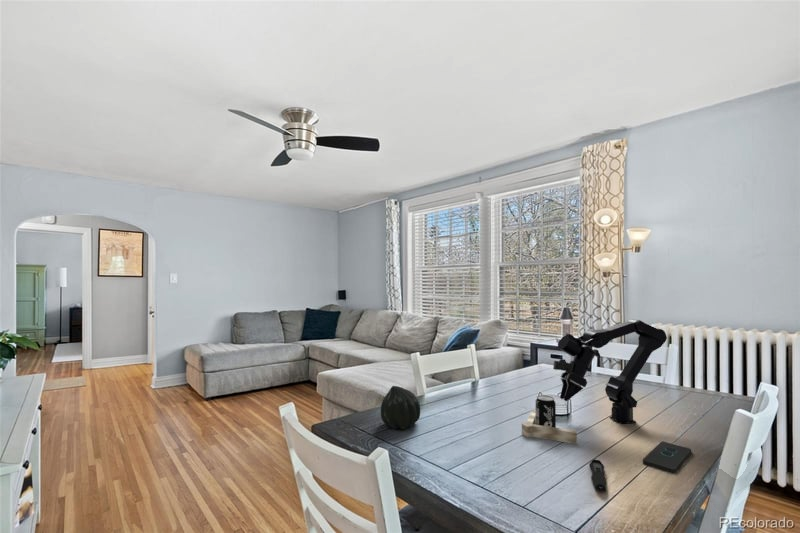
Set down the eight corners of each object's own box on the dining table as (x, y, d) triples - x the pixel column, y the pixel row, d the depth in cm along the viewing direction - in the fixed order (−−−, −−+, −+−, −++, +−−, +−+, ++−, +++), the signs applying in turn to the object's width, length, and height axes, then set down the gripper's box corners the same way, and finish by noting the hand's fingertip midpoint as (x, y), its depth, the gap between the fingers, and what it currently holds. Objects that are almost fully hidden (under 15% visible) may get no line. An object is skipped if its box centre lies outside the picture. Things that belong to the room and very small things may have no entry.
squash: (434, 411, 142) (413, 376, 149) (407, 424, 131) (385, 385, 138) (413, 430, 149) (393, 395, 156) (385, 443, 138) (365, 405, 145)
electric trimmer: (591, 494, 98) (591, 481, 98) (589, 466, 113) (589, 455, 113) (608, 498, 97) (608, 485, 97) (603, 469, 111) (603, 458, 111)
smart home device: (692, 448, 122) (675, 469, 108) (692, 454, 121) (675, 475, 108) (661, 440, 128) (641, 459, 114) (661, 445, 128) (641, 465, 114)
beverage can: (559, 433, 136) (559, 398, 137) (548, 437, 133) (547, 401, 133) (543, 427, 142) (543, 393, 142) (531, 431, 138) (531, 396, 138)
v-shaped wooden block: (534, 419, 149) (534, 410, 149) (580, 443, 128) (580, 432, 128) (505, 423, 145) (505, 414, 145) (547, 449, 124) (547, 437, 124)
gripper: (557, 352, 159) (539, 386, 157) (564, 350, 141) (545, 389, 140) (584, 366, 155) (567, 402, 154) (595, 366, 137) (575, 406, 136)
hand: (563, 399), depth 146 cm, fingers open, 9 cm apart
